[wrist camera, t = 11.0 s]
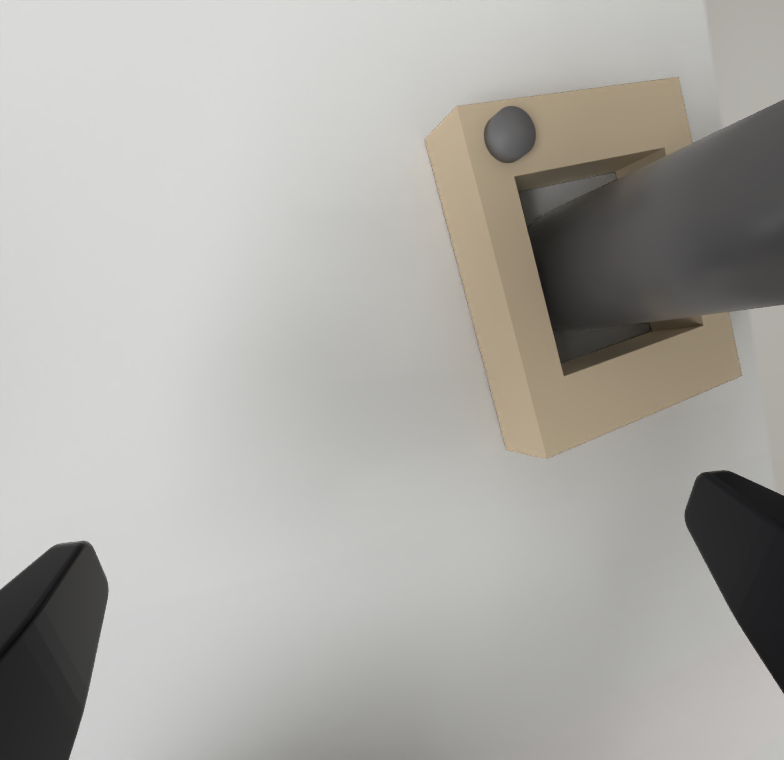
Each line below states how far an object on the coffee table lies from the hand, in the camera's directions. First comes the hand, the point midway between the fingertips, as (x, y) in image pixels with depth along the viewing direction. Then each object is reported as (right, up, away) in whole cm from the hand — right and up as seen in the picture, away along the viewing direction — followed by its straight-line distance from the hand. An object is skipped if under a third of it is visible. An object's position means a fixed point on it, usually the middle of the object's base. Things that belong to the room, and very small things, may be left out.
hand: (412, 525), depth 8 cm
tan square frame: (+7, +7, +14) cm, 17 cm away
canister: (+7, +7, +14) cm, 17 cm away
